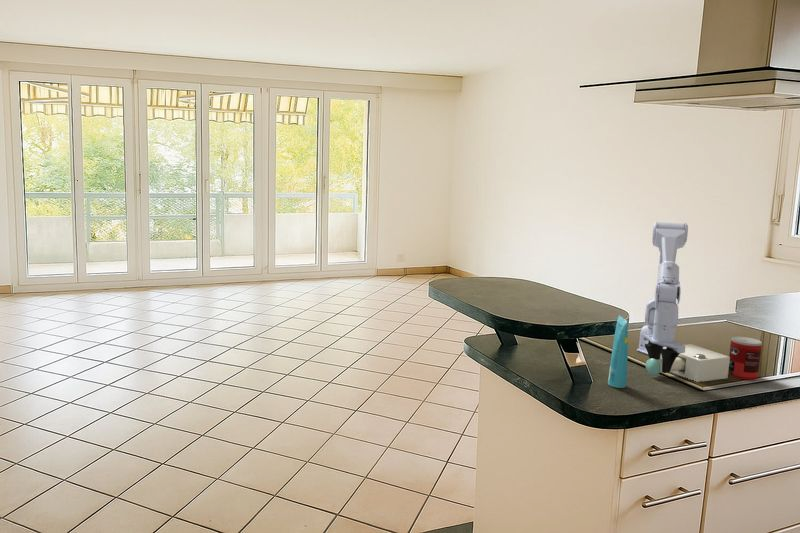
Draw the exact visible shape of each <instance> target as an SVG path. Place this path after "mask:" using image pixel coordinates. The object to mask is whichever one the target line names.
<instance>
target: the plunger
mask: <svg viewBox="0 0 800 533" xmlns="http://www.w3.org/2000/svg"><path fill="white" fill-rule="evenodd" d="M696 358H698V359H705V355H703V354H696Z"/></svg>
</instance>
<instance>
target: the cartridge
mask: <svg viewBox="0 0 800 533" xmlns="http://www.w3.org/2000/svg"><path fill="white" fill-rule="evenodd" d="M685 367H686V359H685V358H683V357H677V358H676V359H675V361H674V363H673V365H672V367H671V370H670V371H678V370H685ZM645 369H646V372H647V373H648V374H649V375H651V376H657V375H659V374H660V373H661V374H662V373H663V372H662V359H658V360H656V359H654V358H652V359H649V358H648V359H647V360H646V362H645Z"/></svg>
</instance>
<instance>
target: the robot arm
mask: <svg viewBox="0 0 800 533" xmlns="http://www.w3.org/2000/svg"><path fill="white" fill-rule="evenodd" d="M652 226H653V227H652V228H653V229H652V245H653V247H656V248H658V251H659V261H658V262H659V264H658V267H657V282H656V284H655V288H654V289H655V291H654V297H653V298H652V299H650V300H648V301H647V302H646V307H645V313H644V325H643V326H642V328H641V330H640V334H639V343H638V348H636V352H640V353H643V354H645V355H648V357H649V358H648V359H652V358H654V359H656V360H658V359H660V357H661V355H662V373H663V374H670V373H671V372H670V370H671V367H672V365H673V363H674V361H675V359H676V358H677V356H678V355H679V354H680V353H685V347H686V346H684V345H685V344H681V343H680V342H678V341H676V340H675V334H676V328H677V327H678V324H679V304H680V302H681V301H680V300H681V292H682V290H681V289H682V288H681V281H680V266H679V265H678V264H677V263H676V259H677V258H676V257H677V251H678V249H682V248H685V247H684V246H685V245H686V242H687V241H688V234H689V233H688V232H689V225H688V223H687V222H684V223H681V222H679V223H678V222H661V221H659V222H658V221H655V222H653V225H652ZM663 347H666V349H663Z"/></svg>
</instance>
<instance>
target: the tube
mask: <svg viewBox="0 0 800 533" xmlns="http://www.w3.org/2000/svg"><path fill="white" fill-rule="evenodd" d="M615 326H616V327H615V329H614V330H615V331H614V338H613V344H612V349H611V350H612V351H611V357H610V364H609V372H608V379H607V384H608V386H609V387H613V388H616V389H617V388H618V389H624V388H626V387H627V383H628V382H627V378H628V359H629V358H628V352H629V348H628V347H629V337H628V336H629V334H628V333H629V331H628V320H626V318H624V317H622V316H621V315H619V314H618V316H617V321H616V325H615Z"/></svg>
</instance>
